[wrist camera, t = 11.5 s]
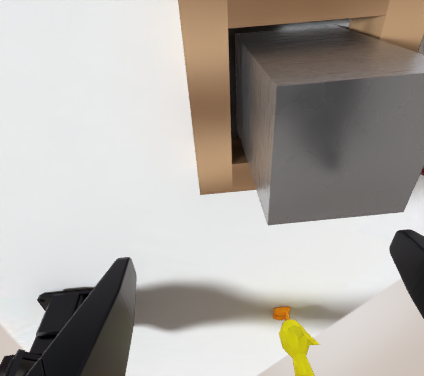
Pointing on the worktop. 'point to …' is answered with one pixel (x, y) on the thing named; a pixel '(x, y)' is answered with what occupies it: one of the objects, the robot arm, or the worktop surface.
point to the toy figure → (295, 341)
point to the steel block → (329, 122)
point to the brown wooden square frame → (219, 65)
